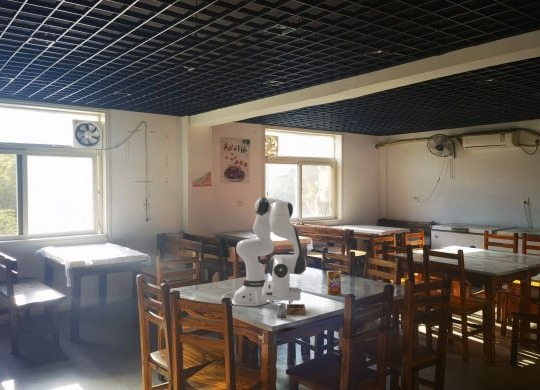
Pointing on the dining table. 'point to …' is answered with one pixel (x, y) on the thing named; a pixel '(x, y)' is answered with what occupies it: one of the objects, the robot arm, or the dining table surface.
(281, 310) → the steel socket
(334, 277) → the candy box
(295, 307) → the brown wooden square box
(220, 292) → the dining table surface
